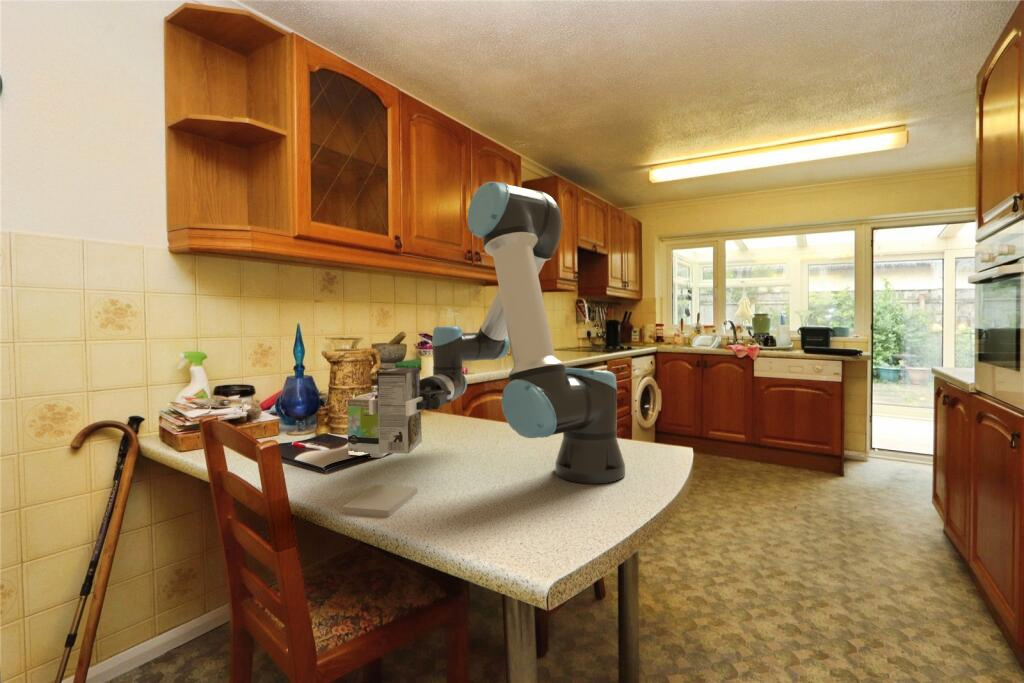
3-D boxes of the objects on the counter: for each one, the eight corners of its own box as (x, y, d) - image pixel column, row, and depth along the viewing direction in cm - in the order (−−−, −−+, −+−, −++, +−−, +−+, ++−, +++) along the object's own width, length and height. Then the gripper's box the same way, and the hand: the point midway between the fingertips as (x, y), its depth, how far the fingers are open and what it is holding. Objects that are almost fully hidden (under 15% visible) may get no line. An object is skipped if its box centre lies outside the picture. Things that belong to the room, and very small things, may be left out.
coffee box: (393, 442, 105) (391, 367, 104) (422, 442, 104) (420, 367, 103) (377, 453, 95) (375, 371, 95) (409, 454, 95) (407, 371, 94)
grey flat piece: (417, 487, 96) (388, 510, 84) (417, 495, 96) (389, 519, 84) (375, 484, 98) (342, 506, 86) (375, 492, 98) (342, 515, 86)
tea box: (383, 458, 121) (382, 399, 120) (346, 456, 123) (345, 398, 122) (408, 443, 135) (407, 391, 135) (375, 442, 137) (374, 390, 137)
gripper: (473, 408, 115) (437, 429, 92) (395, 406, 119) (343, 425, 97) (473, 376, 114) (436, 390, 92) (395, 375, 119) (342, 388, 97)
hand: (389, 408), depth 94 cm, fingers closed on coffee box, 7 cm apart
